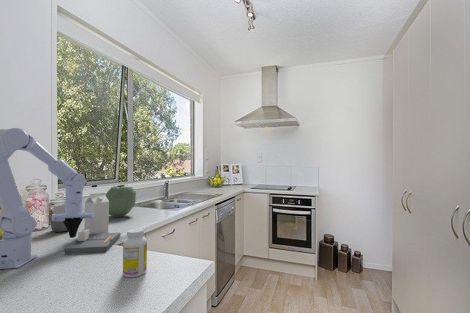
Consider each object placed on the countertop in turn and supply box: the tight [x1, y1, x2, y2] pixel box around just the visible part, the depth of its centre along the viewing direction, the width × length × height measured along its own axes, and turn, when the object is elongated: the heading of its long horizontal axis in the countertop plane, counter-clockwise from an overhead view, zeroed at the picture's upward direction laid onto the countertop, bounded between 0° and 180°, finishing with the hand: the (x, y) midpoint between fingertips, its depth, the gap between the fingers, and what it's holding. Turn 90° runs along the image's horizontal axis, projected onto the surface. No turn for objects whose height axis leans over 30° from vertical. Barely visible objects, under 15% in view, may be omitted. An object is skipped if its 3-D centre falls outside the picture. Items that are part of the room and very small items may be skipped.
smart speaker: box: [50, 203, 68, 233], centre depth 115 cm, size 10×9×14 cm
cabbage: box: [105, 183, 137, 218], centre depth 146 cm, size 16×19×20 cm
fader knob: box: [77, 228, 89, 241], centre depth 95 cm, size 4×2×4 cm, turn 11°
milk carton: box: [83, 191, 110, 234], centre depth 109 cm, size 7×7×19 cm
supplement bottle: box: [122, 227, 148, 278], centre depth 71 cm, size 7×7×13 cm
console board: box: [64, 232, 121, 255], centre depth 95 cm, size 18×14×3 cm
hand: (72, 237), depth 94 cm, fingers closed
